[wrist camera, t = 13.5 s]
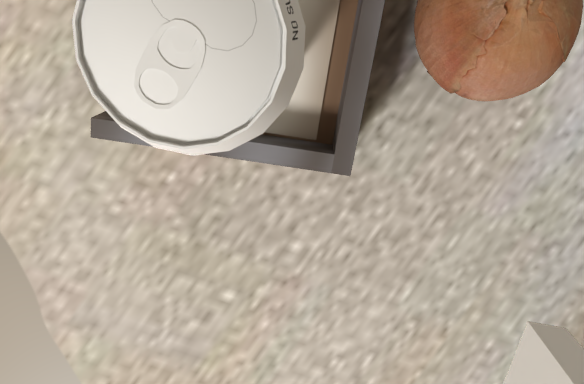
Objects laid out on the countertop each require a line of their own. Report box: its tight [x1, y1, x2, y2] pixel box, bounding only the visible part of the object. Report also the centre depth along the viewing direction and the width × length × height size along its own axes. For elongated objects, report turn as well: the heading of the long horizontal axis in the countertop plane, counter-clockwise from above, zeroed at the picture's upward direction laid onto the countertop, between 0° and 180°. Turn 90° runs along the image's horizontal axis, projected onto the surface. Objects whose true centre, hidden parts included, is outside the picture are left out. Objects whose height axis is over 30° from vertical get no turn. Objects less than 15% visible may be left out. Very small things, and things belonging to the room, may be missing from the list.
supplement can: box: [72, 0, 306, 156], centre depth 23 cm, size 8×8×15 cm
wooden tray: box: [91, 0, 385, 176], centre depth 31 cm, size 16×15×6 cm
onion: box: [414, 0, 583, 101], centre depth 30 cm, size 10×9×10 cm
